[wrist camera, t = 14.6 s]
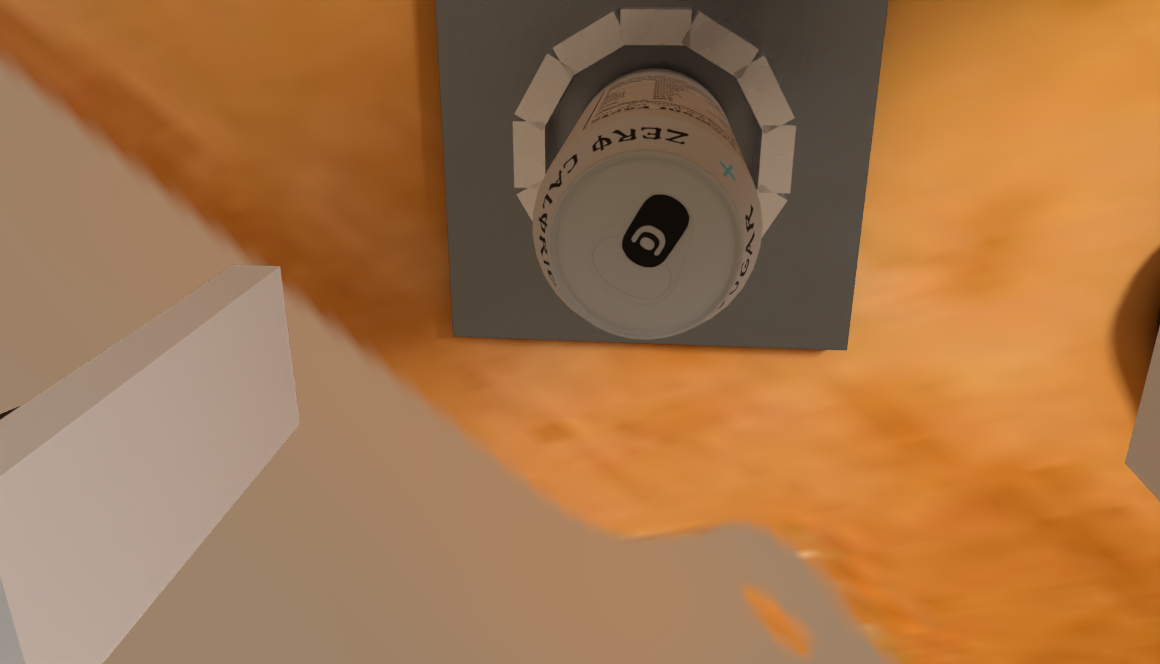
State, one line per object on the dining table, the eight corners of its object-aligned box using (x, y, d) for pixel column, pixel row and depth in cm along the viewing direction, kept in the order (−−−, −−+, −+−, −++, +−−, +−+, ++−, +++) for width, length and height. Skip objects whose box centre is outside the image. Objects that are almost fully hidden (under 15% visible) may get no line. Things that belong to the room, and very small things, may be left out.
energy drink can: (550, 169, 37) (480, 286, 23) (628, 35, 35) (601, 74, 21) (676, 244, 38) (682, 402, 24) (759, 117, 35) (820, 209, 21)
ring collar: (436, -87, 35) (413, -93, 31) (892, -89, 33) (916, -95, 30) (457, 328, 41) (439, 358, 38) (842, 341, 39) (858, 374, 36)
